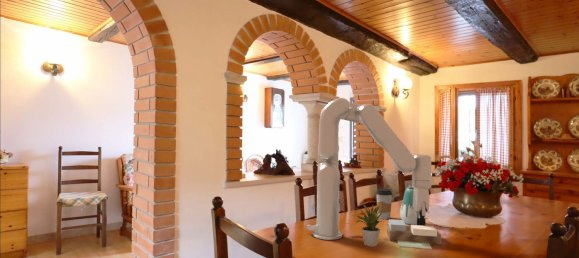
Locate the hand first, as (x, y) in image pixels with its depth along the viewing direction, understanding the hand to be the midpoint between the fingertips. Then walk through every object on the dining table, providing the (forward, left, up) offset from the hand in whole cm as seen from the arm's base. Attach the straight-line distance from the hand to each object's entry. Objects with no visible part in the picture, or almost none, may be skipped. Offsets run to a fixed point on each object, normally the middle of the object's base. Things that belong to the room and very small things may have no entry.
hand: (421, 227), depth 145 cm
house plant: (-21, -10, -6) cm, 24 cm away
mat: (-4, -8, -5) cm, 11 cm away
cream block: (0, -5, -1) cm, 5 cm away
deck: (-3, +1, -5) cm, 6 cm away
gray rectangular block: (-10, +1, -1) cm, 10 cm away
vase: (+1, +28, -6) cm, 29 cm away
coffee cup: (-12, +36, -6) cm, 39 cm away
